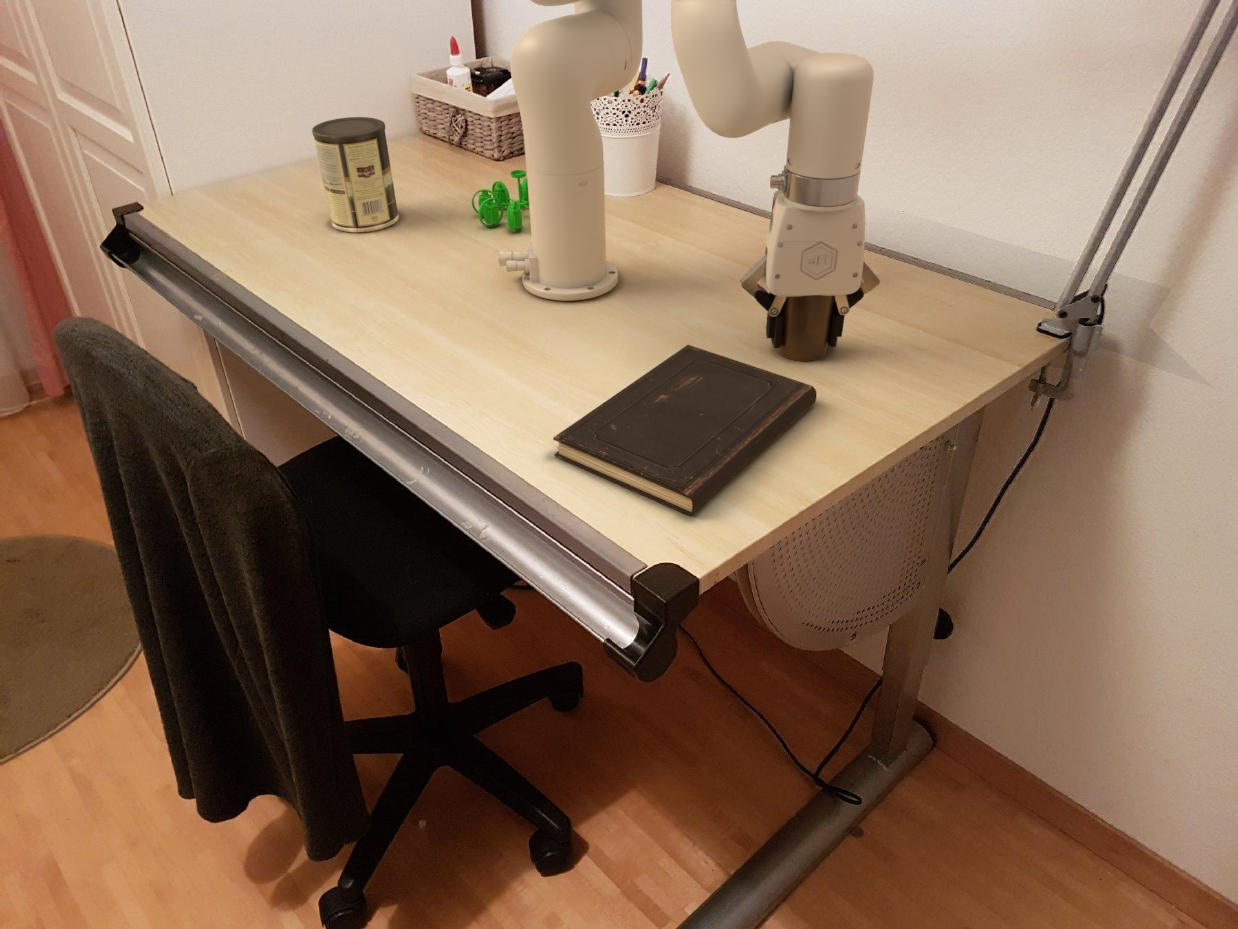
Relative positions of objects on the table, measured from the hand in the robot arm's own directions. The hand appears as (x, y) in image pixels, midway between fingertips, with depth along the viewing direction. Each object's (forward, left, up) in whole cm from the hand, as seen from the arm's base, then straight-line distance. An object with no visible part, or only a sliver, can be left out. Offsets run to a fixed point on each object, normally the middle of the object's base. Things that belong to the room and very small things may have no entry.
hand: (802, 340), depth 105 cm
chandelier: (-35, +44, -1) cm, 56 cm away
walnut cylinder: (0, 0, -1) cm, 1 cm away
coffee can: (-59, +44, -1) cm, 74 cm away
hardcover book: (-14, -16, -1) cm, 22 cm away
